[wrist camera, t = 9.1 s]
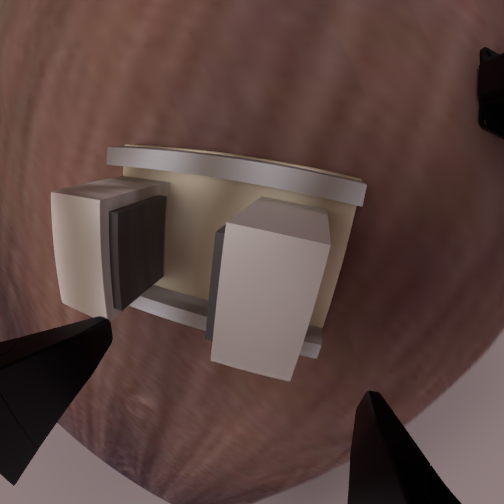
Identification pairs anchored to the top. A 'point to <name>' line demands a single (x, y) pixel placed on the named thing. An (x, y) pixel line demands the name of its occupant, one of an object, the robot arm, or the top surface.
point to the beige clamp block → (181, 229)
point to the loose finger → (266, 285)
